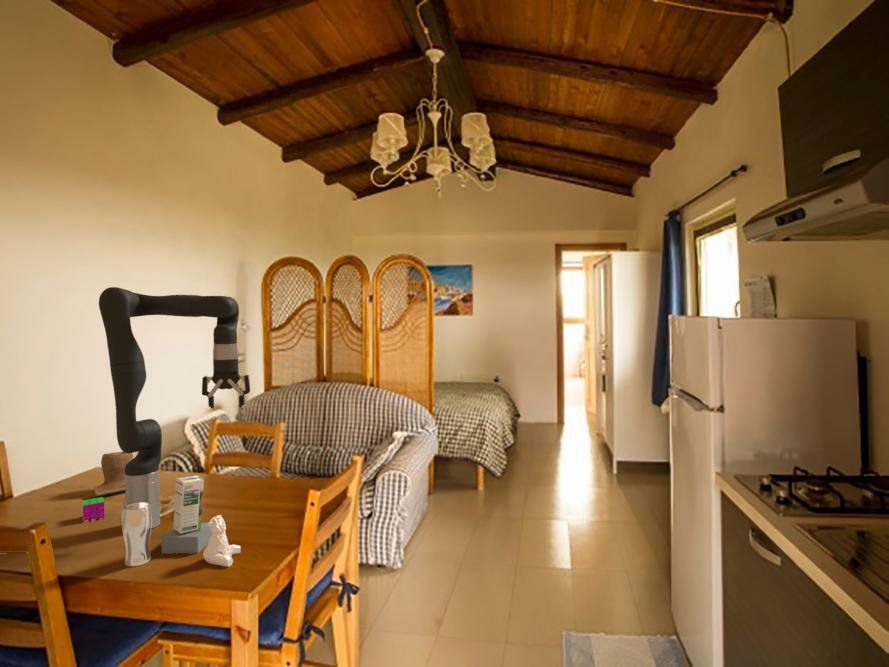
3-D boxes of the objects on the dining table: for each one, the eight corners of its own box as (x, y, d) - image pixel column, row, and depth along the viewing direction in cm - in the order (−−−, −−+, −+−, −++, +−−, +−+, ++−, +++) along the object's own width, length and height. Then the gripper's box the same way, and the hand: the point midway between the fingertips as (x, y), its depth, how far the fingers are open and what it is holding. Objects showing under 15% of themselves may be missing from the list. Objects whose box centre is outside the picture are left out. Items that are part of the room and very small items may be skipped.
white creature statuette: (230, 567, 133) (229, 522, 132) (196, 569, 132) (195, 523, 132) (242, 551, 142) (241, 508, 142) (210, 552, 141) (209, 510, 141)
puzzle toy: (103, 513, 171) (102, 496, 171) (104, 518, 167) (104, 501, 167) (82, 518, 168) (81, 500, 168) (83, 523, 163) (82, 505, 163)
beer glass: (131, 555, 140) (129, 501, 139) (157, 554, 140) (156, 500, 140) (117, 568, 133) (115, 511, 133) (145, 566, 133) (143, 510, 133)
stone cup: (131, 483, 203) (130, 446, 203) (142, 489, 195) (141, 450, 195) (86, 493, 192) (85, 453, 191) (96, 500, 184) (95, 459, 183)
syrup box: (179, 534, 142) (183, 482, 142) (172, 528, 146) (175, 477, 146) (201, 529, 146) (204, 478, 146) (193, 524, 150) (196, 474, 150)
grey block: (161, 555, 141) (161, 537, 141) (179, 539, 151) (179, 522, 151) (198, 554, 141) (197, 536, 141) (213, 539, 151) (213, 522, 151)
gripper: (199, 359, 160) (200, 410, 160) (247, 358, 164) (248, 408, 164) (204, 357, 167) (205, 406, 168) (250, 356, 171) (251, 404, 171)
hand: (226, 407), depth 166 cm, fingers open, 8 cm apart
